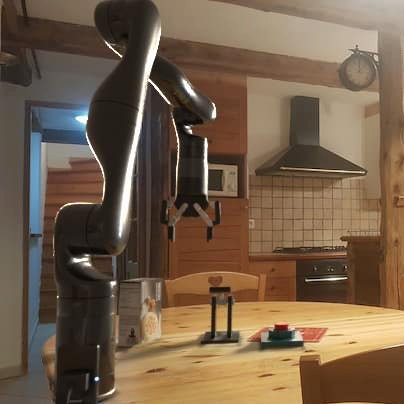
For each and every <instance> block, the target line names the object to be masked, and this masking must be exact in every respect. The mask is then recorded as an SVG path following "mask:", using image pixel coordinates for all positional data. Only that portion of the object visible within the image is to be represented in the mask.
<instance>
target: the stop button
mask: <svg viewBox="0 0 404 404" xmlns="http://www.w3.org/2000/svg"><path fill="white" fill-rule="evenodd" d="M273 327H274V330H278V331H284V330H289V327H290V323H289V322H286V321H279V322H278V321H277V322H275V323H274V325H273Z"/></svg>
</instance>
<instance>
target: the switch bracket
mask: <svg viewBox="0 0 404 404" xmlns="http://www.w3.org/2000/svg"><path fill="white" fill-rule="evenodd" d="M217 302H218V293H212V295H211V299H210V300H209V305H210V307H211V310H210V330H209V331H205V332H204V334H203V337H202V339H201V340H200V344H225V343H228V344H229V343H239V342H240V337H241V336H240V335H241V330H233V306H234V305H235V298H233V293H228V295H227V317H226V318H227V319H226V320H227V321H226V322H227V323H226V330H219V331H218V330H217V319H218V318H217V317H218V316H217V314H218V312H217V310H218V306H217Z"/></svg>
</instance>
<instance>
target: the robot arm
mask: <svg viewBox="0 0 404 404" xmlns="http://www.w3.org/2000/svg"><path fill="white" fill-rule="evenodd" d="M93 23H94V27H95V29H96V31H97V34H98V35H99V37H100V38H101V39H102V40H103V42H104V43H105V44H106V45H107V46H108V47H109V48H110V49H112V50H113V51H114V52H115V53H116V54H118V56H120V59H119V61H118V62H117V63H116V65H115V66H114V67H113V69H112V70H111V71H110V72H109V73H108V74H107V75H106V77H105V78H104V79H103V80H102V81H101V82H100V83H99V85H98V86H97V87H96V89H95V90H94V92H93V94H92V96H91V98H90V102H89V107H88V112H87V117H86V123H85V136H86V138H87V142H88V144H89V147H90V149H91V151H92V153H93V154H94V156H95V158H96V160H97V162H98V164H99V166H100V168H101V171H102V174H103V195H102V196H103V197H102V200H101V202H100V203H99V202H75V203H74V202H73V203H67V204H65V205H63V206H61V208H60V209H59V211H58V212H57V214H56V217H55V218H54V224H53V233H52V237H53V238H52V243H53V245H52V246H53V249H52V250H53V278H54V282H55V286H56V291H57V292H56V318H55V319H56V320H55V342H54V343H55V344H54V346H55V347H54V348H55V349H54V369H53V393H52V402H53V403H54V404H97V403H99V402H101V401H104V400H107V399H109V398H111V397H113V396H114V395H115V393H116V386H115V381H116V380H115V379H116V378H115V376H116V349H117V348H116V342H117V315H118V314H117V311H118V288H119V285H118V281H117V278H115V277H114V276H112V275H109V274H107V273H104V272H102V271H100V270H99V269H97V268H96V267H95V266H94V264H93V263H92V259H91V257H114V256H118V255H121V253H122V252H123V251H124V250H125V248H126V246H127V243H128V242H129V241H128V240H129V237H130V232H131V225H132V210H133V209H132V208H133V195H134V194H133V192H134V191H133V190H134V180H135V179H134V178H135V169H136V163H137V157H138V149H139V144H140V138H141V134H142V127H143V122H144V115H145V106H146V98H147V92H148V88H149V87H148V86H149V82H150V83H151V84H152V85H153V86H154V88H155V89H156V90H157V91H158V92H159V94H160V95H161V96H162V97H163V99H164V100H165V101H166V102H167V103H168V104H169V105H170V106H171V117H172V122H173V125H174V128H175V132H176V137H177V143H178V145H177V148H178V149H177V151H178V152H177V163H176V175H175V176H176V178H175V179H176V181H175V186H176V187H175V199H174V200H169V199H168V200H167V199H162V200H161V209H160V220H159V222H160V224H162V225H165V226H166V227H167V240H170V243H175V242H176V241H175V240H176V238H175V237H176V227H175V225H176V224H177V222H178V221H180V220H181V218H182V217H183V218H189V219H190V218H195V219H196V218H197V219H198V218H200V217H201V218H202V219H203V221H204V222H205V223H206V225H207V227H206V243H211V241H212V240H213V239H214V227H215V226H219V225H221V224H222V215H221V214H222V213H221V202H220V201H219V200H215V201H213V200H212V201H211V200H210V201H209V199H208V195H209V194H208V192H209V191H208V190H209V189H208V188H209V165H208V151H209V150H208V146H209V145H208V139H207V138H206V137H205V136H202V135H199V134H194V133H193V132H192V130H191V128H192V127H207V126H211V125H212V124H213V123H214V122H215V120H216V118H217V110H216V107H215V104H214V103H213V101H212V99H210V98H209V97H208V95H206V94H205V93H204V92H202V91H201V90H199V89H198V88H197V87H195V86H194V85H193V84H192V83H191V82H190V80H189V79H188V77H187V76H186V74H185V73H184V72H183V70H182V69H180V67H178V66H177V65H176V64H175V62H172V61H171V60H169V59H168V58H167V57H164V56H162V55H161V54H159V53H157V50H158V46H159V42H160V38H161V32H162V21H161V14H160V11H159V8H158V6H157V5H156V3H155V2H154V1H153V0H101V1H100V2H98V3H97V4H96V5H95V7H94V10H93ZM172 206H174V208H175V209H176V210H177V211H176V212H175V214H174V215H173V216H172V218H171V219H169V220H168V214H169V212H168V211H169V210H170V209H172ZM209 207H211V209H212V210H214V219H215V220H211V218H210V216H208V214H207V213H206V211H207V210H208V208H209Z"/></svg>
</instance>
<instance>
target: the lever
mask: <svg viewBox="0 0 404 404" xmlns="http://www.w3.org/2000/svg"><path fill="white" fill-rule="evenodd" d="M231 292H232V287H231V286H209V288H208V293H209V294H217V309H228V295H224V294H226V293H227V294H232V293H231Z"/></svg>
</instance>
